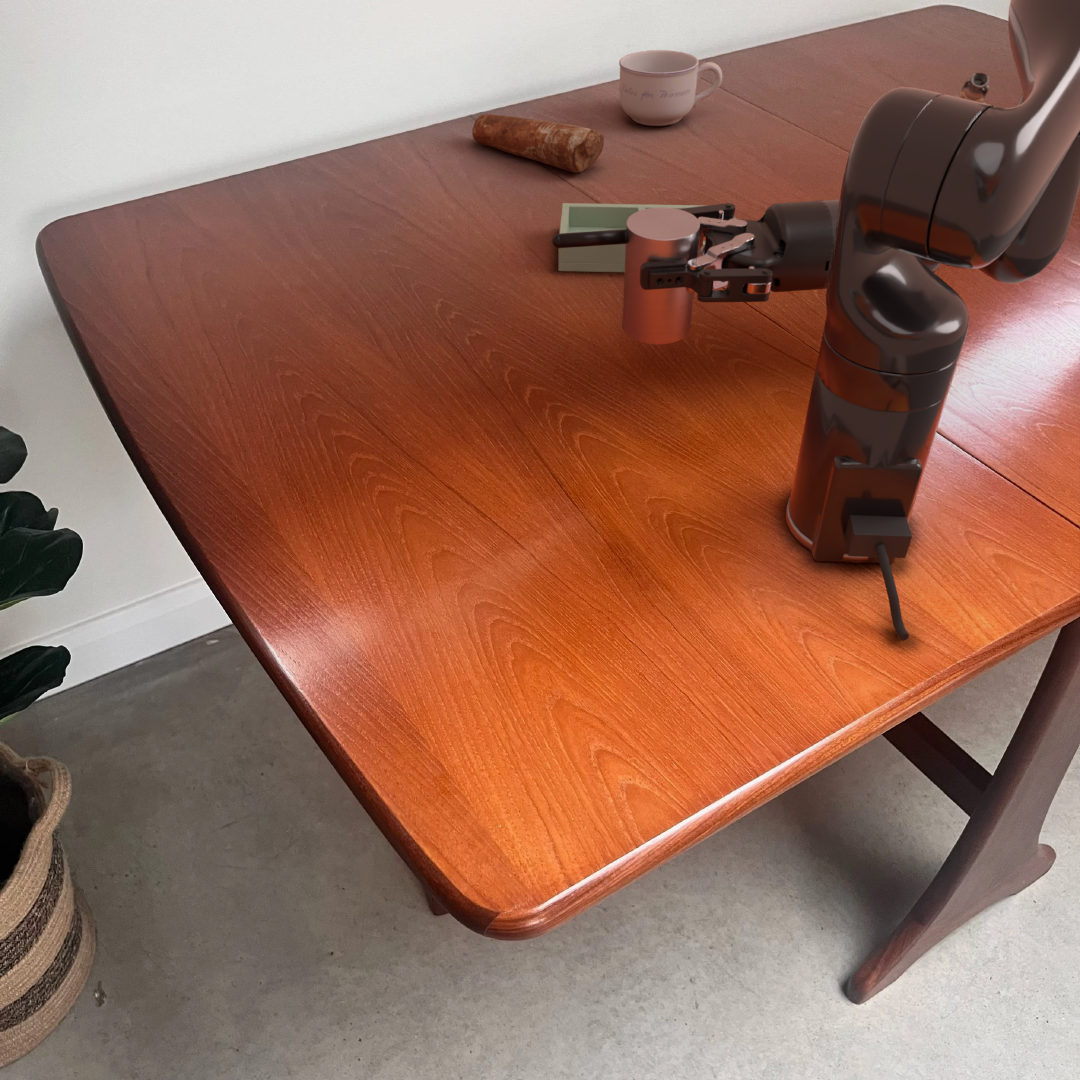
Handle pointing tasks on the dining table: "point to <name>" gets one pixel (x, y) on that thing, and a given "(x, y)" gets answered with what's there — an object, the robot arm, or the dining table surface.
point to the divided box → (598, 219)
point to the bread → (540, 140)
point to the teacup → (662, 85)
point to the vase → (975, 87)
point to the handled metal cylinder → (649, 241)
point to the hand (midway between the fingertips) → (634, 257)
